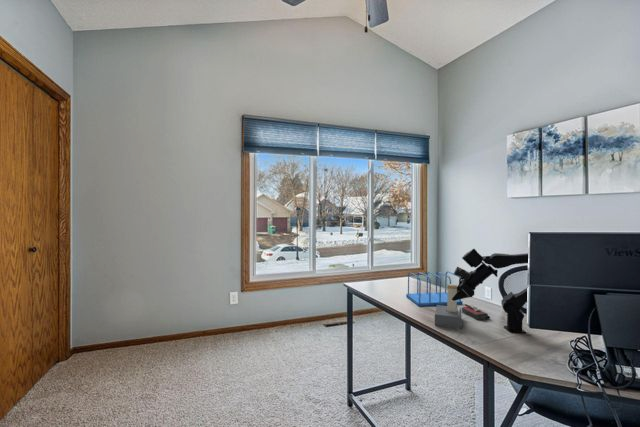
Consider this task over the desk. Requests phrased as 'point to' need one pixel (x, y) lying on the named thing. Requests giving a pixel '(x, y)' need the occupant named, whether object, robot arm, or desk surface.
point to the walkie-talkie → (474, 312)
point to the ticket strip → (450, 294)
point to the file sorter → (430, 298)
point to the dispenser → (447, 317)
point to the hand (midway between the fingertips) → (452, 297)
